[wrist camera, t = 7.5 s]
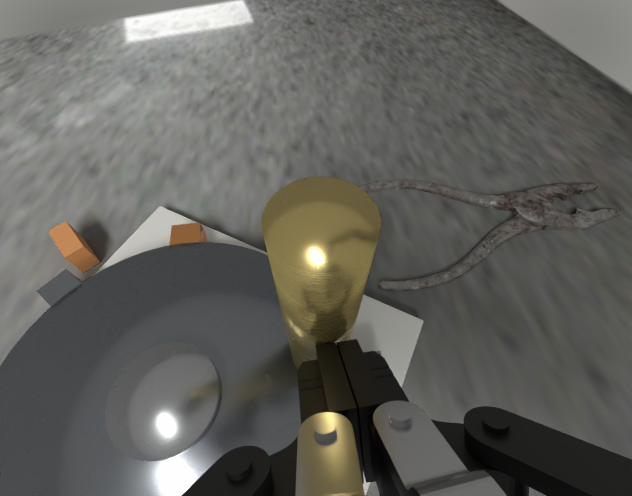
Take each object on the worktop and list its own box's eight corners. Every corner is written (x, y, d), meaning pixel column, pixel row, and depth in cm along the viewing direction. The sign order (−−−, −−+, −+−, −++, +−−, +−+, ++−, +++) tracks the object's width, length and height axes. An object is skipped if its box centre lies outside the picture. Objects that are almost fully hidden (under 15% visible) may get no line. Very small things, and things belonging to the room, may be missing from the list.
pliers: (330, 192, 26) (538, 131, 30) (329, 200, 27) (533, 139, 30) (389, 301, 21) (629, 211, 25) (386, 306, 22) (621, 218, 25)
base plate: (122, 194, 26) (109, 176, 25) (420, 325, 21) (429, 313, 19) (-166, 466, 17) (-221, 467, 15) (240, 859, 11) (227, 932, 9)
